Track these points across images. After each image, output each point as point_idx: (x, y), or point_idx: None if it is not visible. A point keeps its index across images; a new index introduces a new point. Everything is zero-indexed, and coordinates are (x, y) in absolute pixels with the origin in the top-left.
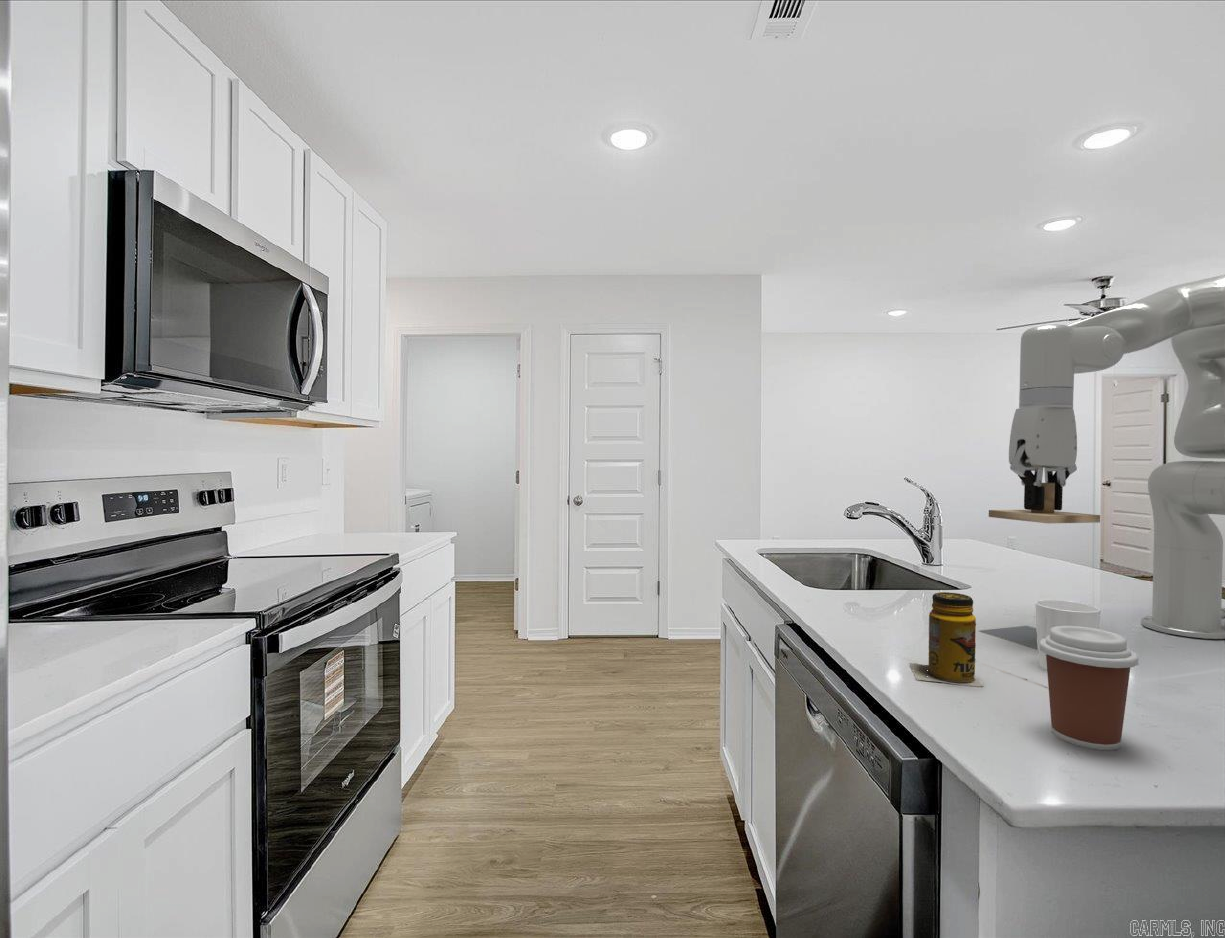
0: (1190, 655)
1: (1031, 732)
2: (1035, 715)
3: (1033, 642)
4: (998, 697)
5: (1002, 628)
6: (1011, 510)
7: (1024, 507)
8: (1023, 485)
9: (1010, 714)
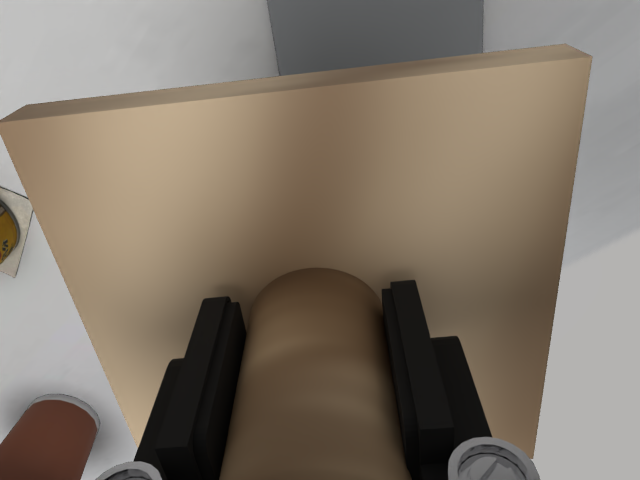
0: (633, 193)
1: (3, 401)
2: (40, 367)
3: (327, 57)
4: (20, 313)
5: None
6: (203, 159)
7: (205, 302)
8: (119, 469)
9: (4, 360)
